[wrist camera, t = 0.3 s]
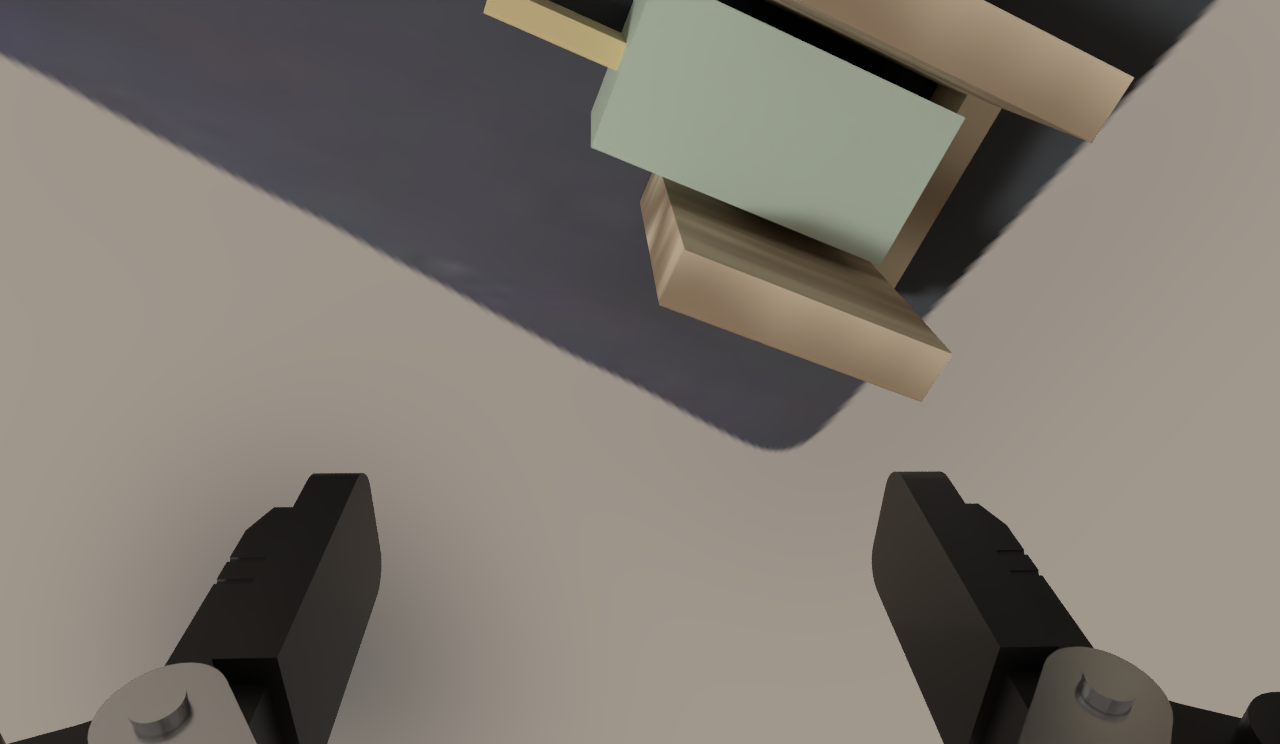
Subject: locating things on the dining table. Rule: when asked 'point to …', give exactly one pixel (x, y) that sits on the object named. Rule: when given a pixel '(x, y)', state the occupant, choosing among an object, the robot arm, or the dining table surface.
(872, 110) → the green block with tab
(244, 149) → the dining table surface
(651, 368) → the dining table surface
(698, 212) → the bay
